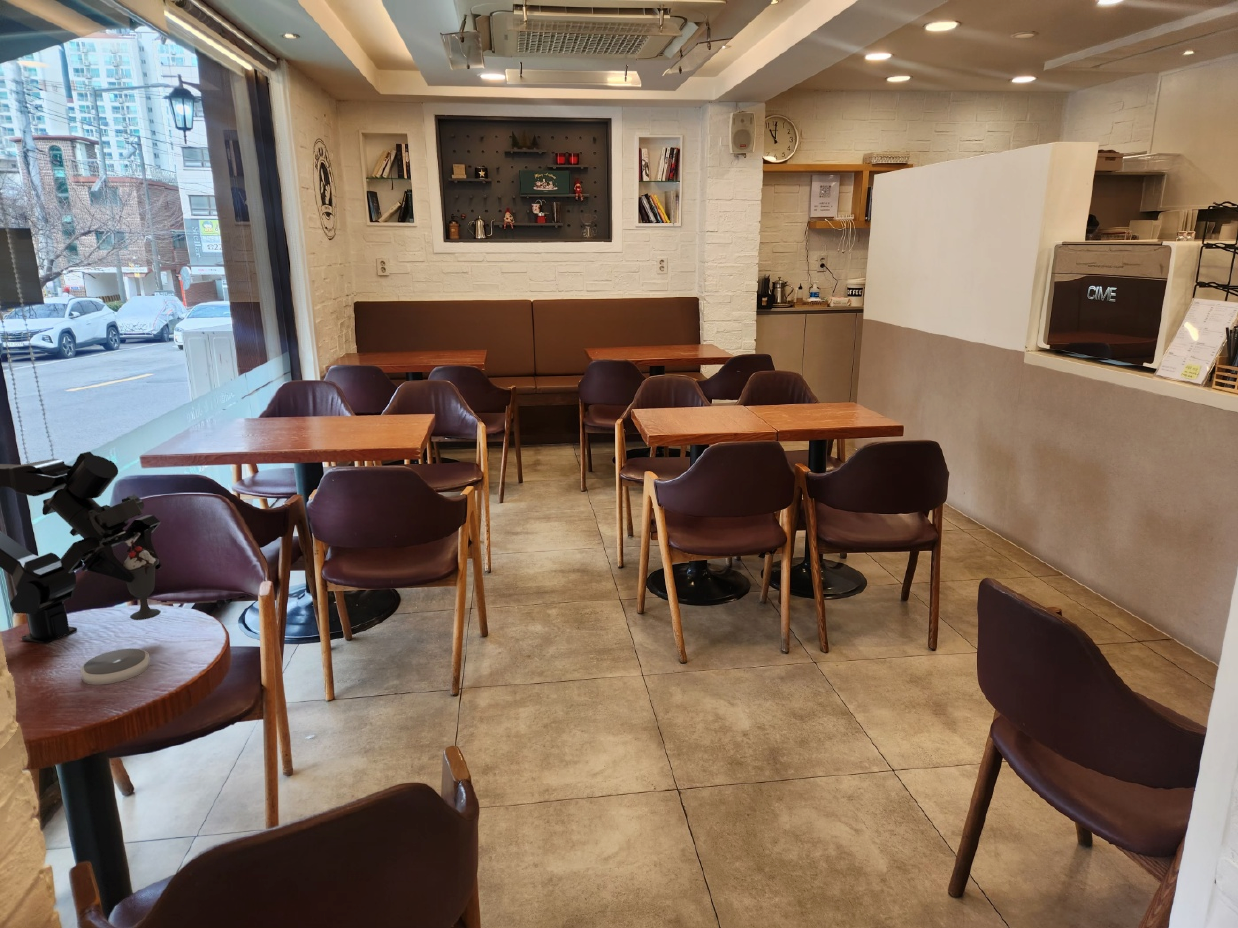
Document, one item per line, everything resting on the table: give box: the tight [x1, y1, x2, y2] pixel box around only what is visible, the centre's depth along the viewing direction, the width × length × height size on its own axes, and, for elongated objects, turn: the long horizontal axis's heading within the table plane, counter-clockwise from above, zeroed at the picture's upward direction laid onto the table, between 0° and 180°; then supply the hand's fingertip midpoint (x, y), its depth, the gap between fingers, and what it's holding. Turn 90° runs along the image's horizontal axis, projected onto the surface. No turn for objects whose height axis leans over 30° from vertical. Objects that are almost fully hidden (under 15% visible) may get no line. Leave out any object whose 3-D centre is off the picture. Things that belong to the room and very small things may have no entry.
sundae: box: [121, 541, 162, 621], centre depth 144 cm, size 7×7×15 cm
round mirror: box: [80, 648, 151, 686], centre depth 135 cm, size 10×10×2 cm
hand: (146, 574), depth 144 cm, fingers closed on sundae, 6 cm apart
